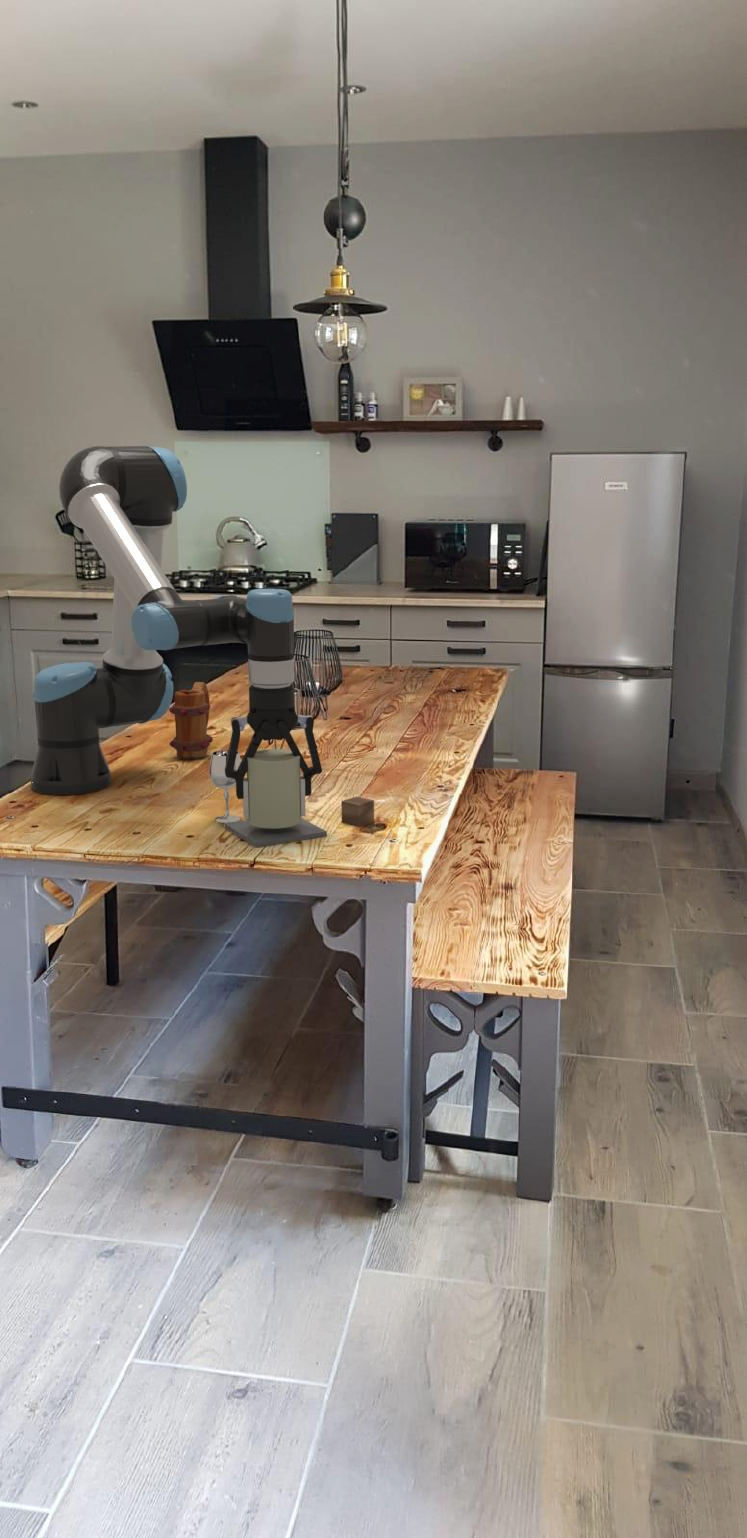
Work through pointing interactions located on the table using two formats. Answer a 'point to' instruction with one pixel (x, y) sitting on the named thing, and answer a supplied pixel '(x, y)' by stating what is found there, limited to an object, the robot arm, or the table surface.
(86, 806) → the table surface
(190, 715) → the mug
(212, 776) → the wineglass
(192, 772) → the table surface
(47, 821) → the table surface
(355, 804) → the walnut block
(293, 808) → the can
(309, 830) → the coaster
